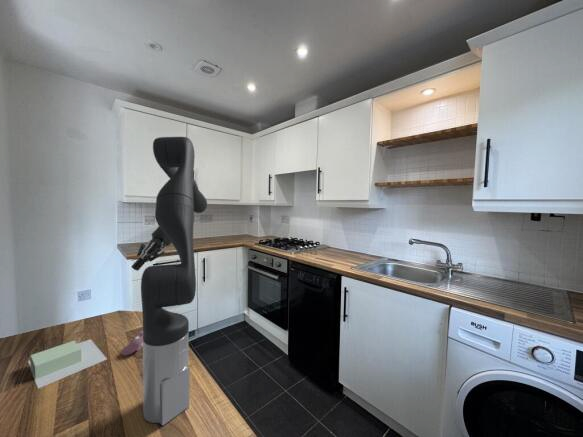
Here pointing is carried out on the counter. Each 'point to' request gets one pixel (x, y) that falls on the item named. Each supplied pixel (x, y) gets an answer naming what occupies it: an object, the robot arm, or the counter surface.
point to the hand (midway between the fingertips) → (134, 269)
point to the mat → (88, 358)
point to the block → (55, 359)
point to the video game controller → (134, 345)
